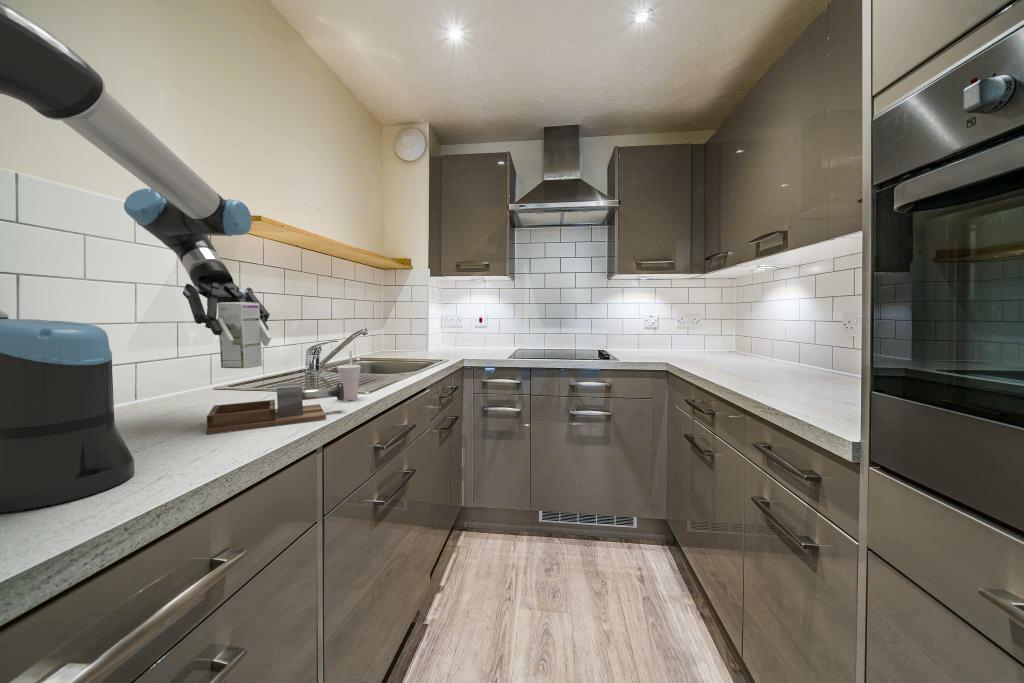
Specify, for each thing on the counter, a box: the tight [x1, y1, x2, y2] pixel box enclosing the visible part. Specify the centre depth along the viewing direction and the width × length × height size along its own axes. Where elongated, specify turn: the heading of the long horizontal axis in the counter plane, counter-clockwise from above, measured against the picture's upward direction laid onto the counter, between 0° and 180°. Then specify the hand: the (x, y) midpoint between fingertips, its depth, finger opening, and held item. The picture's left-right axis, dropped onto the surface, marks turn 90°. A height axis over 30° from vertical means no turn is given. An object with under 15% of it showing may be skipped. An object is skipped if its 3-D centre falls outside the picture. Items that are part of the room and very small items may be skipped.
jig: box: [206, 381, 327, 435], centre depth 92 cm, size 14×22×8 cm, turn 121°
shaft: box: [302, 382, 344, 401], centre depth 97 cm, size 4×13×4 cm, turn 121°
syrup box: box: [217, 302, 263, 369], centre depth 88 cm, size 6×6×14 cm
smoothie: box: [336, 350, 362, 401], centre depth 114 cm, size 6×6×14 cm
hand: (249, 342), depth 87 cm, fingers closed on syrup box, 7 cm apart
